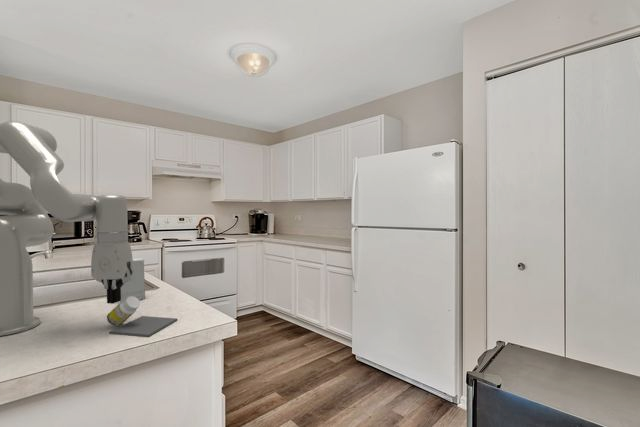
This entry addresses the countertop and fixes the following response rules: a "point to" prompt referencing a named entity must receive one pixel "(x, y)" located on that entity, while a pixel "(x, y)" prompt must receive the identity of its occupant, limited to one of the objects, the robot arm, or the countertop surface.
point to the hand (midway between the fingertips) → (114, 301)
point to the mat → (143, 326)
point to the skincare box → (135, 282)
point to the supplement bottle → (123, 311)
